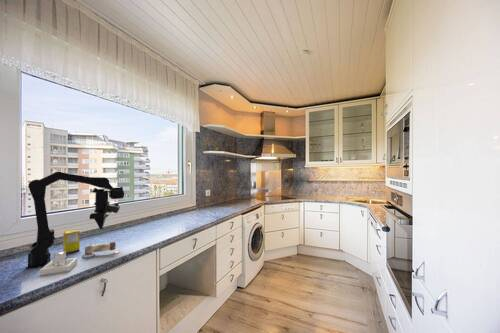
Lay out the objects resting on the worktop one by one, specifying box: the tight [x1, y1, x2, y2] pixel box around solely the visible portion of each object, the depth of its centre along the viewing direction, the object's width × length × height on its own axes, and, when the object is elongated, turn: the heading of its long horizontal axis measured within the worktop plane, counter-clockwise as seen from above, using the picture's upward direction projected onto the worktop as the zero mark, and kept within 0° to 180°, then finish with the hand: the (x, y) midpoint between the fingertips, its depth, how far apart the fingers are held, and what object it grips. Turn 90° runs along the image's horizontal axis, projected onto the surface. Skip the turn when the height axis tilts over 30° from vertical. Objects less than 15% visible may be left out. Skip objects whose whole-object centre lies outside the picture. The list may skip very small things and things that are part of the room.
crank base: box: [81, 250, 120, 259], centre depth 111 cm, size 16×5×1 cm, turn 112°
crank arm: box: [84, 241, 116, 255], centre depth 111 cm, size 13×3×4 cm, turn 112°
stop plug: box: [53, 250, 67, 267], centre depth 94 cm, size 4×4×6 cm
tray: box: [39, 257, 78, 277], centre depth 94 cm, size 10×10×2 cm
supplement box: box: [62, 229, 81, 255], centre depth 116 cm, size 6×6×11 cm
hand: (101, 228), depth 116 cm, fingers closed
